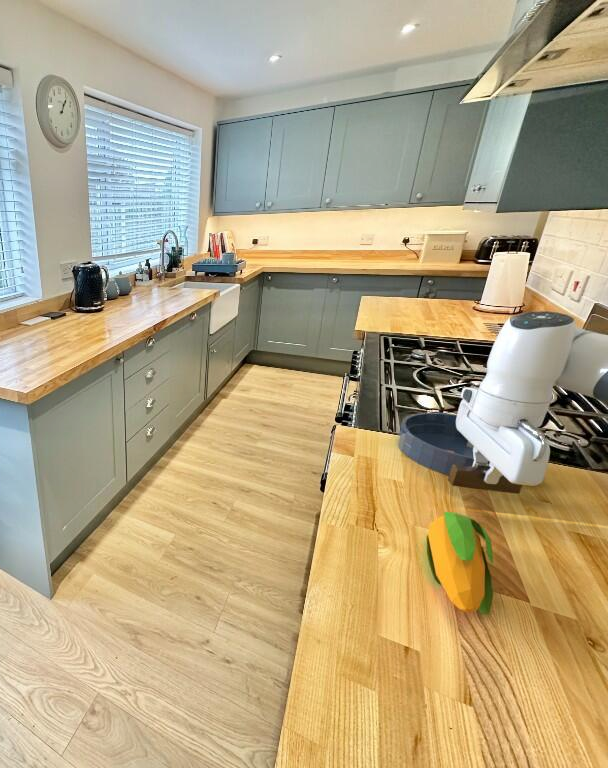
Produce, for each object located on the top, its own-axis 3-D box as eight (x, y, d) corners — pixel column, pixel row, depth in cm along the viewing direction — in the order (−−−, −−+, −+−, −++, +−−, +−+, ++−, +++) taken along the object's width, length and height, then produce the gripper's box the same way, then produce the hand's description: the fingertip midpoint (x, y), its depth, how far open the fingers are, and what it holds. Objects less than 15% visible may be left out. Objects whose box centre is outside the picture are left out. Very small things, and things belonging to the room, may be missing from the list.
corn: (489, 505, 65) (519, 599, 49) (479, 544, 67) (505, 646, 52) (429, 493, 69) (439, 577, 53) (422, 531, 71) (429, 621, 56)
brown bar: (512, 487, 76) (519, 471, 75) (519, 494, 74) (525, 477, 73) (447, 479, 79) (452, 464, 78) (452, 485, 77) (457, 470, 76)
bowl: (489, 437, 97) (496, 416, 95) (551, 492, 78) (561, 467, 76) (384, 429, 103) (388, 409, 101) (417, 477, 85) (424, 454, 82)
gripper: (576, 440, 61) (542, 516, 66) (498, 387, 79) (476, 450, 84) (522, 435, 63) (493, 509, 68) (458, 384, 81) (439, 446, 86)
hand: (483, 476), depth 76 cm, fingers closed on brown bar, 2 cm apart
